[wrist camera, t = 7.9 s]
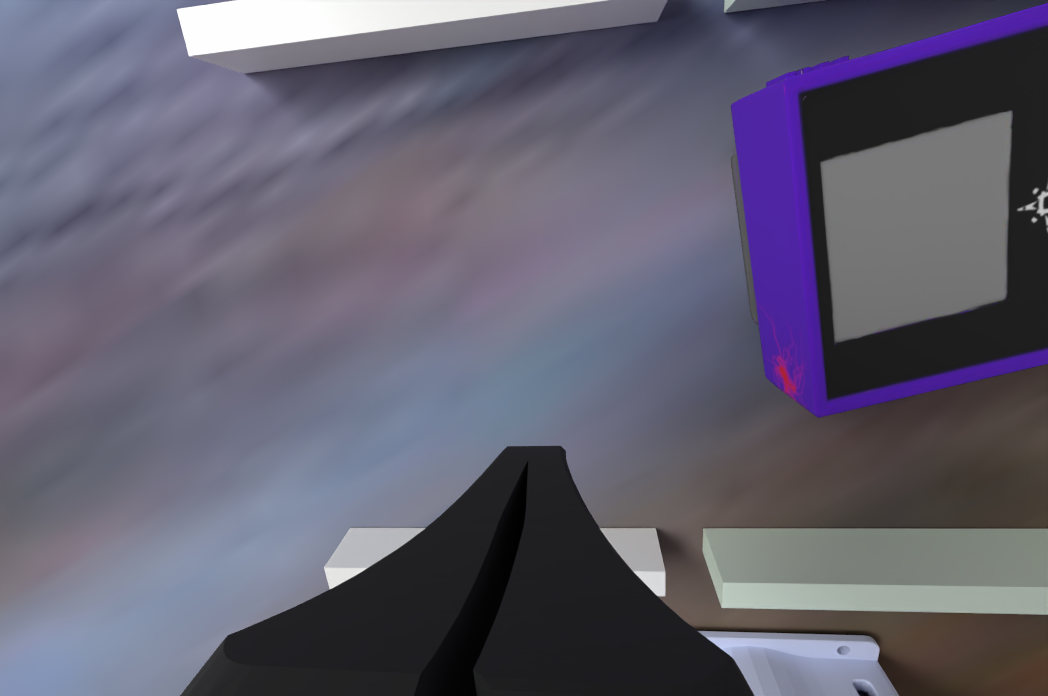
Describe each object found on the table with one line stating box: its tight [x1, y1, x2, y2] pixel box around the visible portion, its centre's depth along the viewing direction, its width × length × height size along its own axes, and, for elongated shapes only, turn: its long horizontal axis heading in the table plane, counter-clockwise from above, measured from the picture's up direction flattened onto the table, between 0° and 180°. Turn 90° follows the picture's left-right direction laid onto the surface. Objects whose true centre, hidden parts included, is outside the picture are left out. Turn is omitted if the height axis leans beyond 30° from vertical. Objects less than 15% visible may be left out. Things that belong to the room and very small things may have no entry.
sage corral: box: [702, 0, 1048, 615], centre depth 15 cm, size 19×21×3 cm
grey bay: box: [177, 0, 668, 596], centre depth 18 cm, size 14×21×2 cm, turn 5°
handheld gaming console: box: [731, 3, 1048, 417], centre depth 14 cm, size 9×5×15 cm
